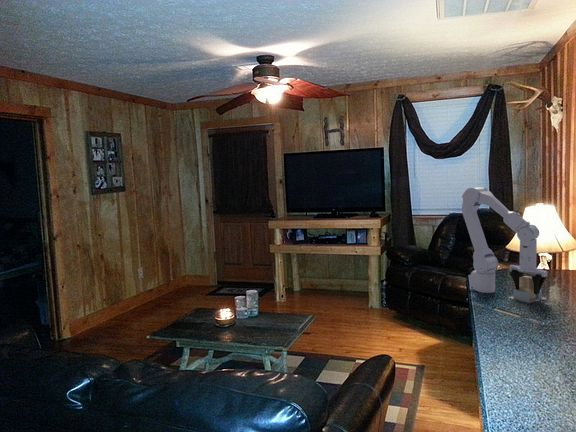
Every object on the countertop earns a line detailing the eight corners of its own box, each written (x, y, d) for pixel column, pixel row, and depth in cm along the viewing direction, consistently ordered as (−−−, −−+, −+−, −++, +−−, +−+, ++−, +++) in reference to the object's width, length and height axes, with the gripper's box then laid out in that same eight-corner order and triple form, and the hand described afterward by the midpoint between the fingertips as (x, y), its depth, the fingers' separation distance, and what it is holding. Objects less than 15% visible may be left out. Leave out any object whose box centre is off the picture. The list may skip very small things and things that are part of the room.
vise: (507, 299, 177) (507, 289, 177) (526, 295, 182) (526, 285, 182) (528, 305, 169) (528, 294, 169) (547, 300, 174) (547, 290, 173)
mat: (494, 310, 164) (494, 309, 164) (519, 304, 171) (519, 303, 171) (518, 317, 155) (518, 316, 155) (545, 311, 162) (545, 310, 162)
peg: (519, 297, 176) (519, 277, 176) (526, 295, 178) (526, 275, 177) (528, 299, 173) (528, 279, 172) (535, 298, 174) (535, 277, 174)
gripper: (504, 255, 179) (503, 289, 180) (538, 261, 166) (538, 297, 167) (516, 253, 182) (515, 286, 183) (551, 258, 169) (550, 294, 170)
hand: (527, 291), depth 175 cm, fingers open, 7 cm apart
